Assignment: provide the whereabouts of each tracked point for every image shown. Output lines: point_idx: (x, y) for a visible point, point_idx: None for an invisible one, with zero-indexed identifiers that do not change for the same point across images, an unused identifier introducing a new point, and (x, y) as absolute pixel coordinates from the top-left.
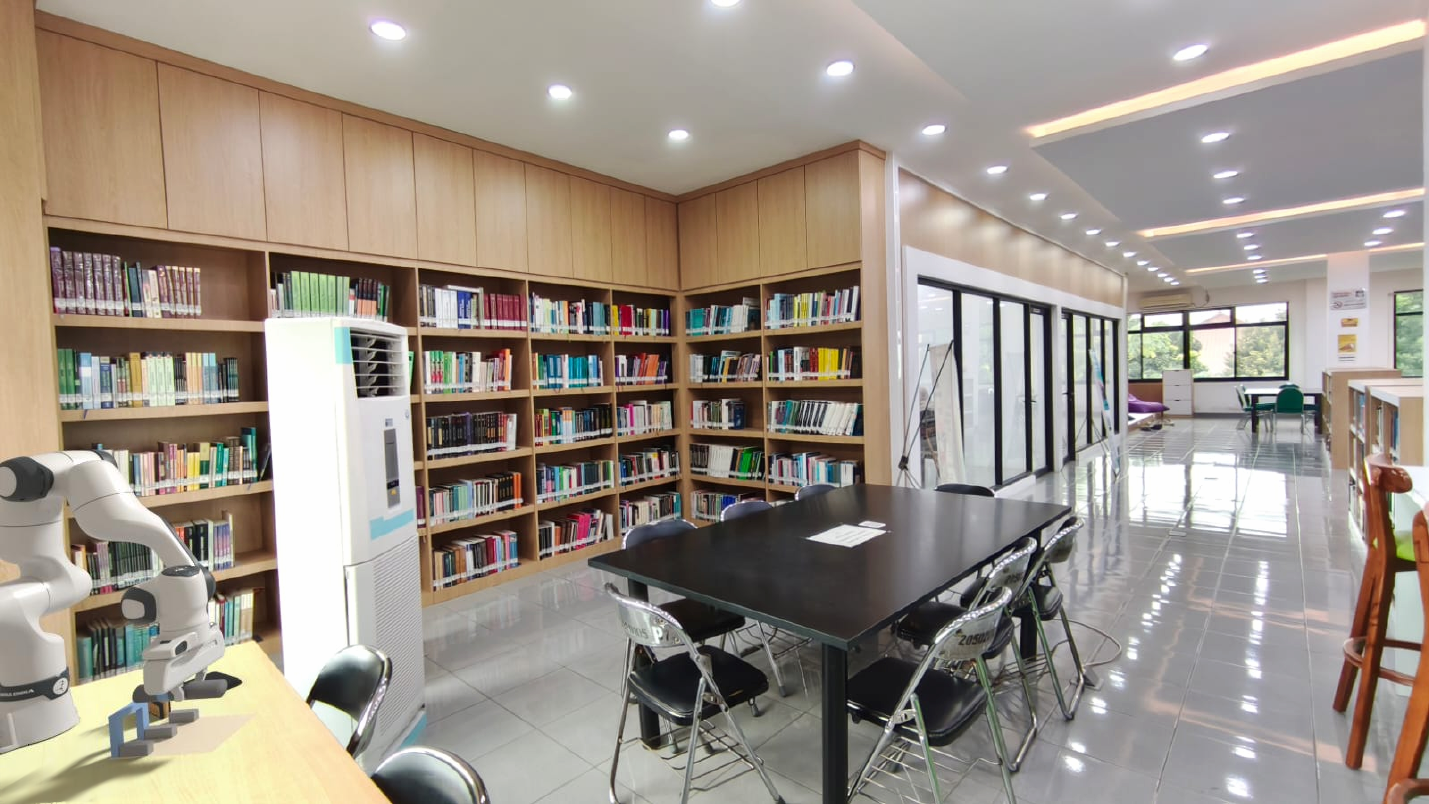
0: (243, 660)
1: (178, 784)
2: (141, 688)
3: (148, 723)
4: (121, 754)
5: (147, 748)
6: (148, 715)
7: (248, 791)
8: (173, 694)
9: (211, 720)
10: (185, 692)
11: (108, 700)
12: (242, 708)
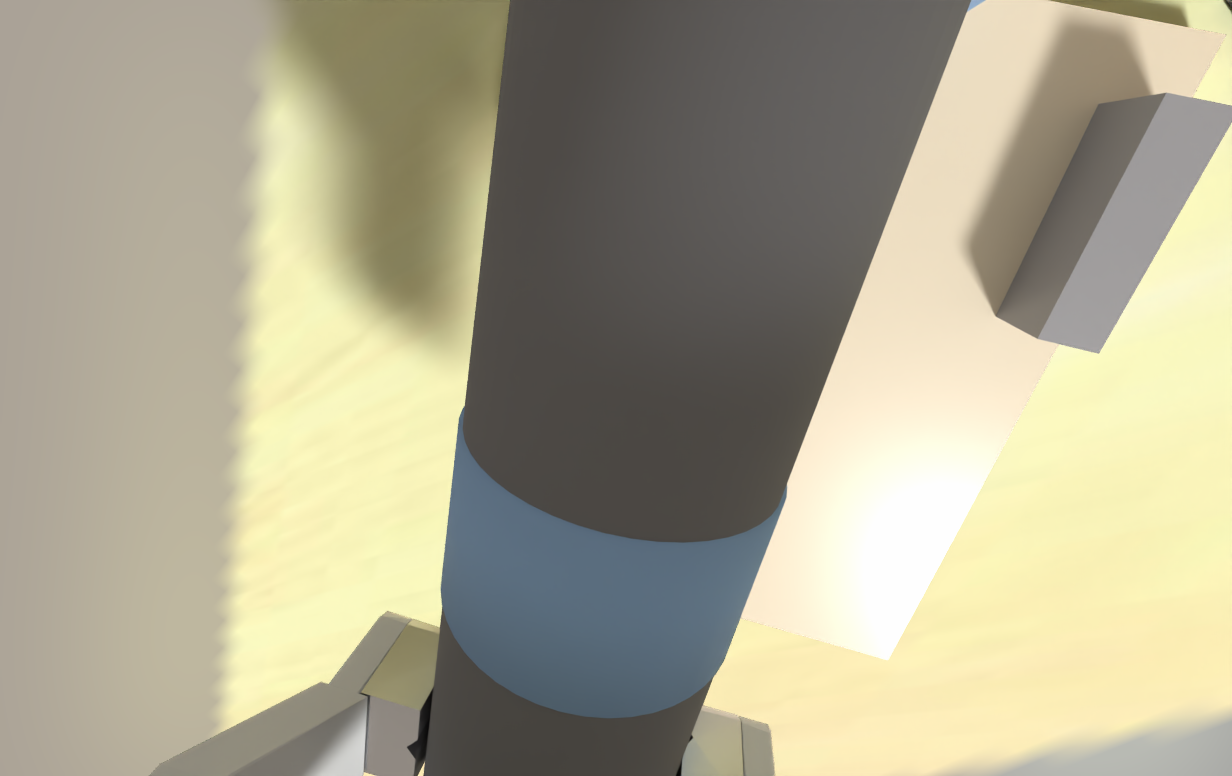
0: None
1: (299, 474)
2: (566, 35)
3: None
4: None
5: None
6: (973, 5)
7: (234, 702)
8: (316, 686)
9: (942, 429)
10: (393, 768)
11: None
12: (1103, 532)
